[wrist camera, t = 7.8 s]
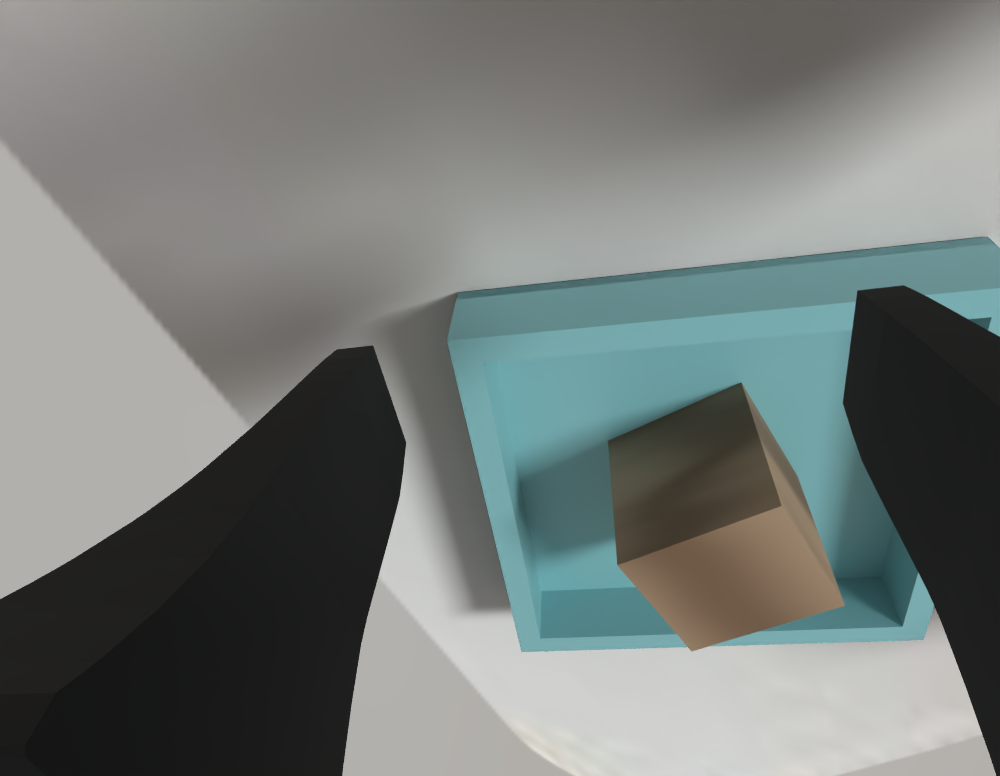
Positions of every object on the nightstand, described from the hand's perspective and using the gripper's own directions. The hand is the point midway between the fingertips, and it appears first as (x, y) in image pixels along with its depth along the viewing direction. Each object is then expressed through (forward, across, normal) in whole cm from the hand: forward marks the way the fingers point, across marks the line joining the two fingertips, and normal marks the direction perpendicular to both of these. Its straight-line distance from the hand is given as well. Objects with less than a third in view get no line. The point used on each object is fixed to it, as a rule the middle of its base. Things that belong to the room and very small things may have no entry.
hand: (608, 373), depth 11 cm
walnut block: (+8, -3, +10) cm, 13 cm away
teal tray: (+9, -3, +10) cm, 14 cm away
